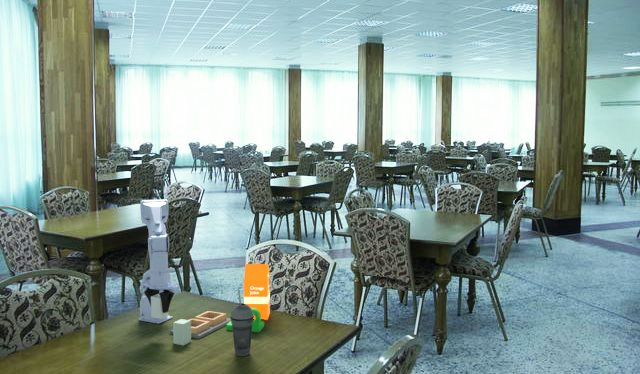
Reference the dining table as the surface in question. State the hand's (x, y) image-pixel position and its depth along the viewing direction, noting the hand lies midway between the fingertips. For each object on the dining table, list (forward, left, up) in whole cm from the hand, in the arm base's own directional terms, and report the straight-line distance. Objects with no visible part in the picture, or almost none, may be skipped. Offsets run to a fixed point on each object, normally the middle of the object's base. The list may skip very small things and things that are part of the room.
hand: (160, 311), depth 192 cm
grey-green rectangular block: (0, 0, -2) cm, 2 cm away
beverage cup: (+33, -1, -9) cm, 34 cm away
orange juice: (+18, +33, -9) cm, 39 cm away
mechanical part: (+21, +20, -9) cm, 30 cm away
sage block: (+10, -1, -9) cm, 13 cm away
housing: (+7, +14, -9) cm, 18 cm away
